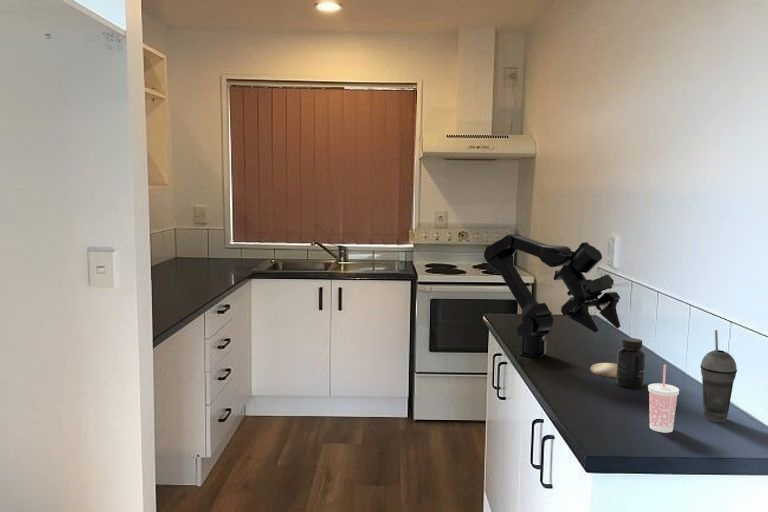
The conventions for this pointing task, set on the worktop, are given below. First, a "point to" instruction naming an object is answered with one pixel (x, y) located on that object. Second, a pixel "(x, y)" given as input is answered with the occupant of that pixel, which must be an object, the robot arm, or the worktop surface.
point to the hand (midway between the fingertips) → (608, 329)
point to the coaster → (605, 369)
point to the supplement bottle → (631, 364)
